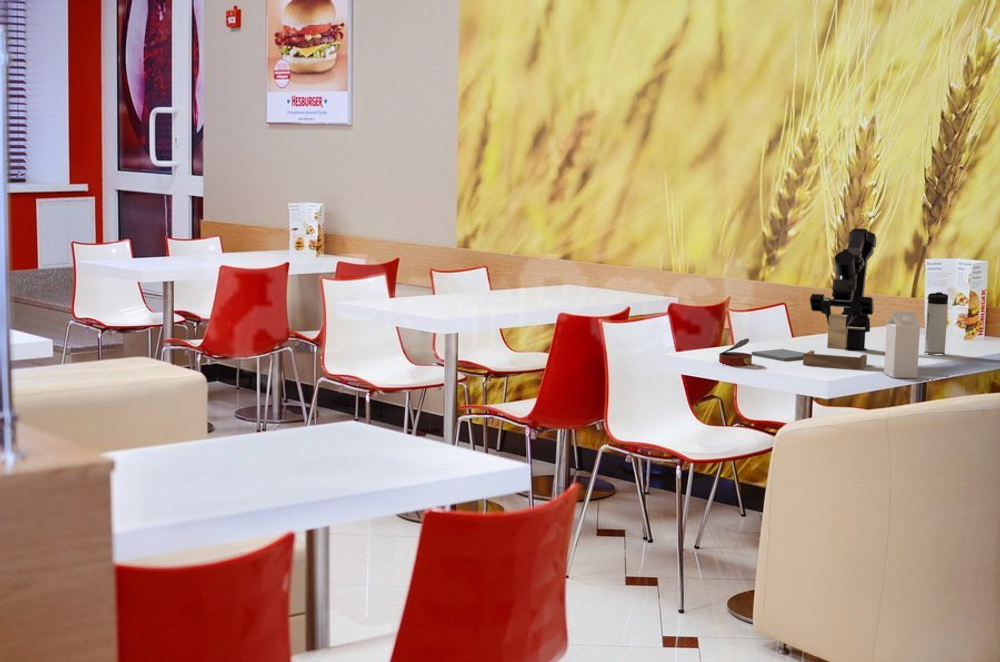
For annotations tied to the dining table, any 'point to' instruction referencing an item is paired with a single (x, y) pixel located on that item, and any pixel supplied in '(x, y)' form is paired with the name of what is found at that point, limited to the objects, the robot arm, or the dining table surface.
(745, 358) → the canned food
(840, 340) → the packed blank
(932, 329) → the travel mug
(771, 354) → the mat
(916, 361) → the milk carton
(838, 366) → the tray
